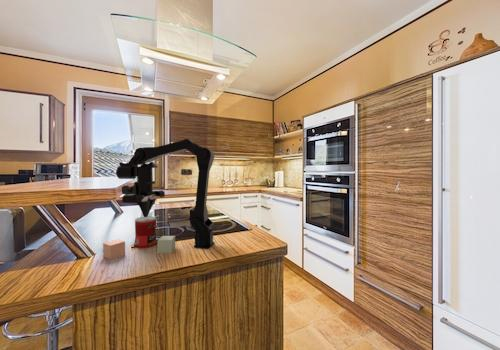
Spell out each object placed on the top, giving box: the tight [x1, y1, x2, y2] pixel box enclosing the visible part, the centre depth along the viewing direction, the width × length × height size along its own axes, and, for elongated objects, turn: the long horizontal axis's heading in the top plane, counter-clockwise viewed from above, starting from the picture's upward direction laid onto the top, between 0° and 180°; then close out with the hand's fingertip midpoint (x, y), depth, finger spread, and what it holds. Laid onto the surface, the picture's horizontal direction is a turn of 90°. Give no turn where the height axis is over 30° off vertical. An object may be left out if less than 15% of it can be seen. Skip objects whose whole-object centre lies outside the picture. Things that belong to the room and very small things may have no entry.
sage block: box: [157, 235, 176, 254], centre depth 83 cm, size 5×5×5 cm
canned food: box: [134, 215, 157, 249], centre depth 90 cm, size 8×8×11 cm
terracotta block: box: [102, 238, 126, 261], centre depth 79 cm, size 5×5×5 cm
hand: (145, 216), depth 89 cm, fingers closed
